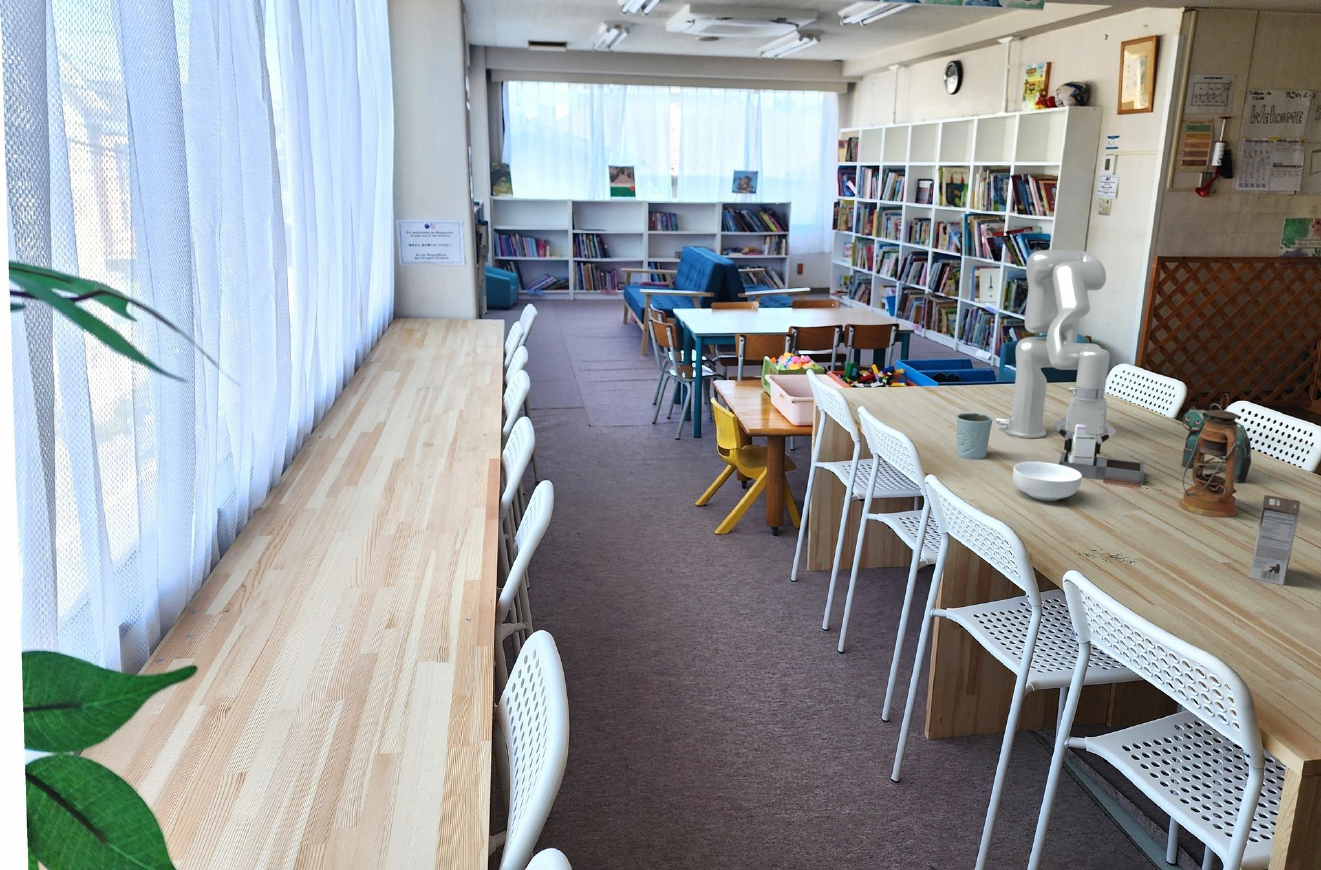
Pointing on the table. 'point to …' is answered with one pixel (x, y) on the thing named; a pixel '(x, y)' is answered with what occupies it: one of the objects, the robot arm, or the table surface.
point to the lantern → (1209, 489)
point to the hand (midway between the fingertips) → (1081, 453)
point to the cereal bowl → (1046, 480)
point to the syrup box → (1082, 446)
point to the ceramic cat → (1194, 425)
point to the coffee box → (1274, 539)
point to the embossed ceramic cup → (973, 435)
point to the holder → (1110, 470)
